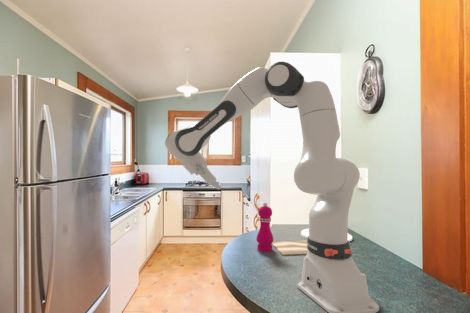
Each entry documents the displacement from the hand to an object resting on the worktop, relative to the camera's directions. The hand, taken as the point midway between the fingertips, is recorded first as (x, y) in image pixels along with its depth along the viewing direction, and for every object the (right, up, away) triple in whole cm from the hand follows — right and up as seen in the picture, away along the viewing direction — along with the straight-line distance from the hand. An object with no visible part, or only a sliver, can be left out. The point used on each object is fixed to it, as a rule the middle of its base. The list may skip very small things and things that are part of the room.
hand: (219, 188), depth 107 cm
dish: (+53, -28, +24) cm, 65 cm away
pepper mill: (+19, -27, +2) cm, 33 cm away
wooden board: (+34, -27, +5) cm, 44 cm away
